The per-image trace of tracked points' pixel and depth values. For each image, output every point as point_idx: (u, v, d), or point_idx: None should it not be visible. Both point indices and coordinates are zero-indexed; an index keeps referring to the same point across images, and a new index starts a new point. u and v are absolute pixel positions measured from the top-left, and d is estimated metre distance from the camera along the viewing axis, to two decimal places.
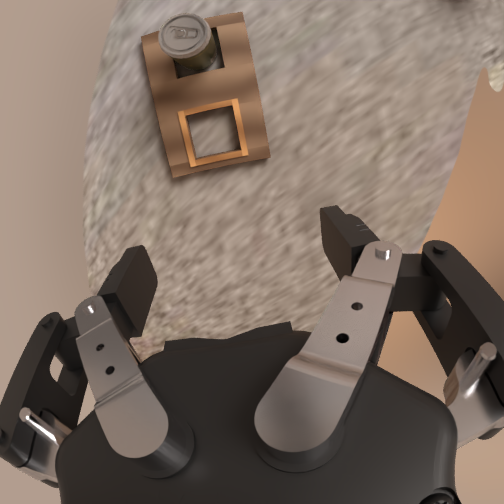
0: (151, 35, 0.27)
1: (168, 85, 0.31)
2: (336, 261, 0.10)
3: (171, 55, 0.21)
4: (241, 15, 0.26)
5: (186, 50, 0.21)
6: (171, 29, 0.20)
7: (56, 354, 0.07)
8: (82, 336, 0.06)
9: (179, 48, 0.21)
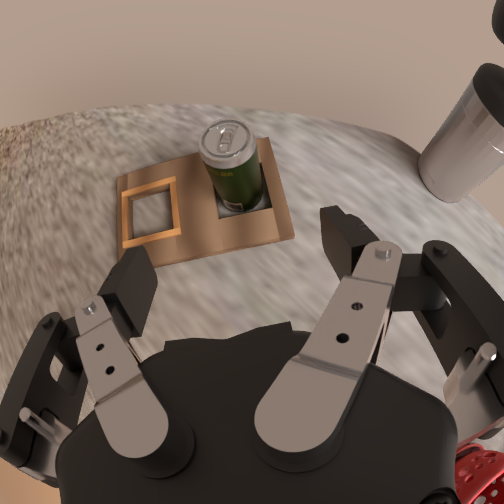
0: (268, 146, 0.35)
1: None
2: (336, 261, 0.10)
3: None
4: (289, 233, 0.31)
5: (204, 145, 0.24)
6: (233, 128, 0.24)
7: (56, 354, 0.07)
8: (82, 336, 0.06)
9: (206, 137, 0.23)
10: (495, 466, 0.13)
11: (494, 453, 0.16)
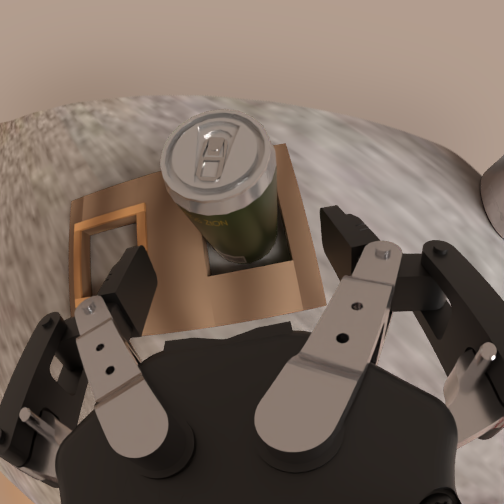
0: (285, 157, 0.23)
1: None
2: (336, 261, 0.10)
3: None
4: (318, 303, 0.20)
5: (172, 164, 0.12)
6: (229, 130, 0.12)
7: (56, 354, 0.07)
8: (82, 336, 0.06)
9: (175, 149, 0.12)
10: None
11: None
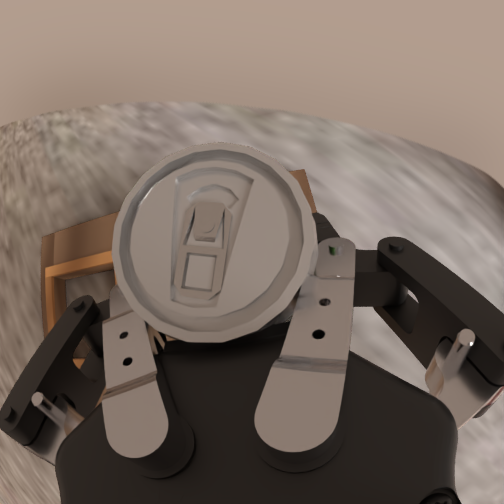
0: (304, 189, 0.18)
1: None
2: None
3: None
4: None
5: None
6: (234, 187, 0.07)
7: (87, 339, 0.08)
8: (109, 320, 0.06)
9: (137, 225, 0.06)
10: None
11: None
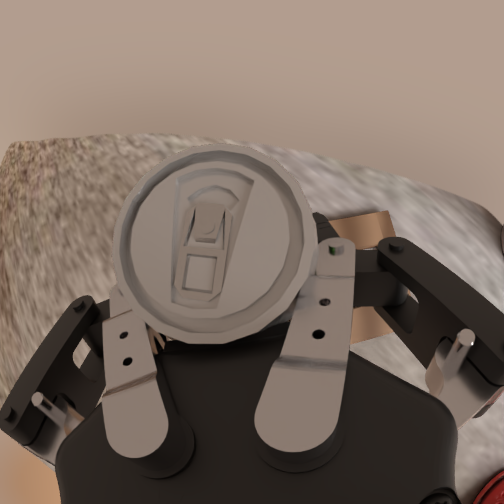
0: (388, 222, 0.30)
1: None
2: None
3: None
4: None
5: None
6: (234, 188, 0.07)
7: (87, 339, 0.08)
8: (109, 320, 0.06)
9: (137, 227, 0.06)
10: None
11: None
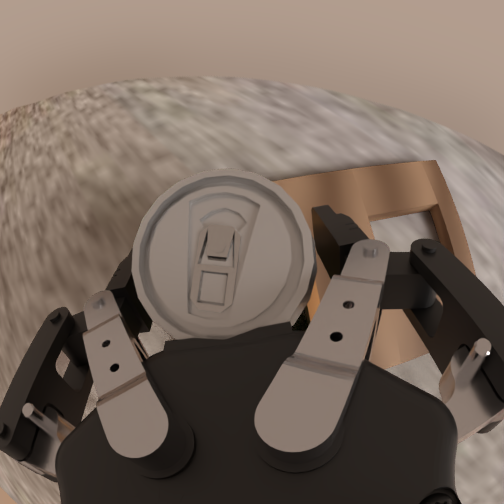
0: (439, 175, 0.18)
1: (354, 199, 0.18)
2: (326, 260, 0.11)
3: None
4: None
5: None
6: (242, 211, 0.07)
7: (64, 349, 0.08)
8: (89, 331, 0.06)
9: (154, 245, 0.07)
10: None
11: None
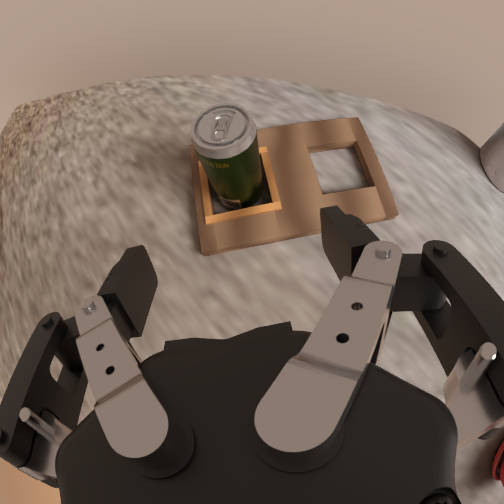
0: (359, 126, 0.31)
1: (299, 138, 0.31)
2: (336, 261, 0.10)
3: None
4: (393, 213, 0.28)
5: (197, 133, 0.20)
6: (230, 114, 0.20)
7: (56, 354, 0.07)
8: (82, 336, 0.06)
9: (199, 124, 0.20)
10: None
11: None
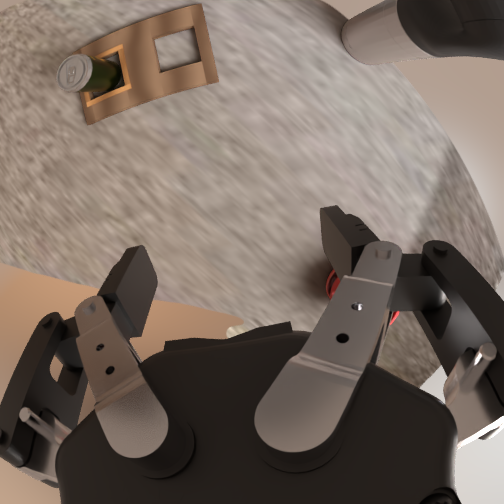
0: (200, 11, 0.28)
1: (146, 32, 0.29)
2: (336, 261, 0.10)
3: None
4: (214, 80, 0.34)
5: None
6: (76, 62, 0.22)
7: (56, 354, 0.07)
8: (82, 336, 0.06)
9: (60, 74, 0.22)
10: None
11: None
